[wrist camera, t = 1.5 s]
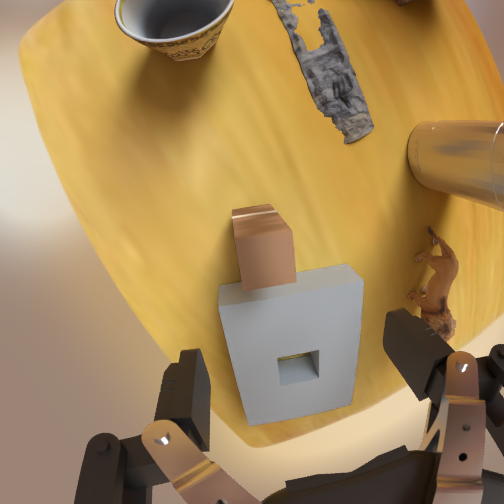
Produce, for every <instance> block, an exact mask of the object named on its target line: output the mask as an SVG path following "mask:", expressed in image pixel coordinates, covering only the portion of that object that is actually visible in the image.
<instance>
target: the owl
mask: <svg viewBox="0 0 504 504" xmlns="http://www.w3.org/2000/svg"><path fill="white" fill-rule="evenodd" d="M395 1H396V2H397V4H398V5H399V6H402V5H403V4H405V3H407V2H411V1H413V0H395Z"/></svg>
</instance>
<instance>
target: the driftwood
mask: <svg viewBox="0 0 504 504" xmlns="http://www.w3.org/2000/svg"><path fill="white" fill-rule="evenodd" d="M272 2H273V4H274V5H275V7H276V9H277V10H278V14H279V16H280V18H281V19H282V21H283V24H284V26H285V28H286V29H287V31H288V33H289V36H290V38H291V40H292V43H293V48H294V51H295V53H296V55H297V58H298V60H299V61H300V64H301V68H302V71H303V73H304V75H305V78H306V79H307V82H308V86H309V89H310V91H311V94H312V96H313V99H314V102H315V103H316V105H317V109H318V110H320V111H321V112H322V113H323V114H324V117H332V122H333V123H334V124H335V125H336V127H335V128H337V129H338V130H339V131H340V130H342V133H343V134H344V135H345V138H344V144H347V143H350V142H353V141H356V140H358V139H360V138H362V137H363V136H364V135H367V134H368V133H369V132H371V130H372V129H373V128H374V124H373V122H372V119H371V117H370V114H369V111H368V108H367V104H366V101H365V99H364V96H363V94H362V91H361V89H360V86H359V84H358V81H357V79H356V74H355V72H354V70H353V68H352V65H351V64H350V61H349V56H348V54H347V51H346V49H345V47H344V44H343V42H342V40H341V38H340V36H339V33H338V31H337V28H336V27H335V25H334V23H333V21H332V19H331V17H330V14H329V13H328V10H323V9H321V8H320V9H319V11H318V14H319V16H318V17H319V19H320V21H321V27H320V28H319V31H320V33H321V35H322V37H323V40H324V42H325V43H324V44H323V45H320V48H318V49H316V50H313V51H308V52H307V50H306V46H305V43H304V42H303V39H302V37H300V35H298V34H297V33H295V32H294V30H295V29H296V28H297V24H298V23H297V22H298V17H297V16H295V15H294V14H293V13H292V12H291V9H292V7H293V6H298V7H301V5H300V4H289V3H288V2H286V1H285V0H272ZM308 3H311V4H312V3H315V1H314V0H308ZM303 5H305V4H303ZM281 10H284V11H281ZM291 29H292V30H291Z"/></svg>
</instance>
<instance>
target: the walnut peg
mask: <svg viewBox="0 0 504 504" xmlns="http://www.w3.org/2000/svg"><path fill="white" fill-rule="evenodd" d="M232 221H233V228H234V239H235V245H236V251H237V257H238V263H239V269H240V275H241V281H242V287H243V291H249V290H255V289H261V288H267V287H273V286H279V285H284V284H290V283H296V282H297V279H296V267H295V256H294V245H293V234H292V230H291V229H290V227H289V226H288V225H287V224H286V223H285V221H284V220H283V219H282V218H281V217H280V215H279V214H278V213H277V211H276V210H275V209H274V208H273V207H272V206H271V205H270V204H266V205H259V206H253V207H246V208H240V209H233V210H232Z"/></svg>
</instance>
